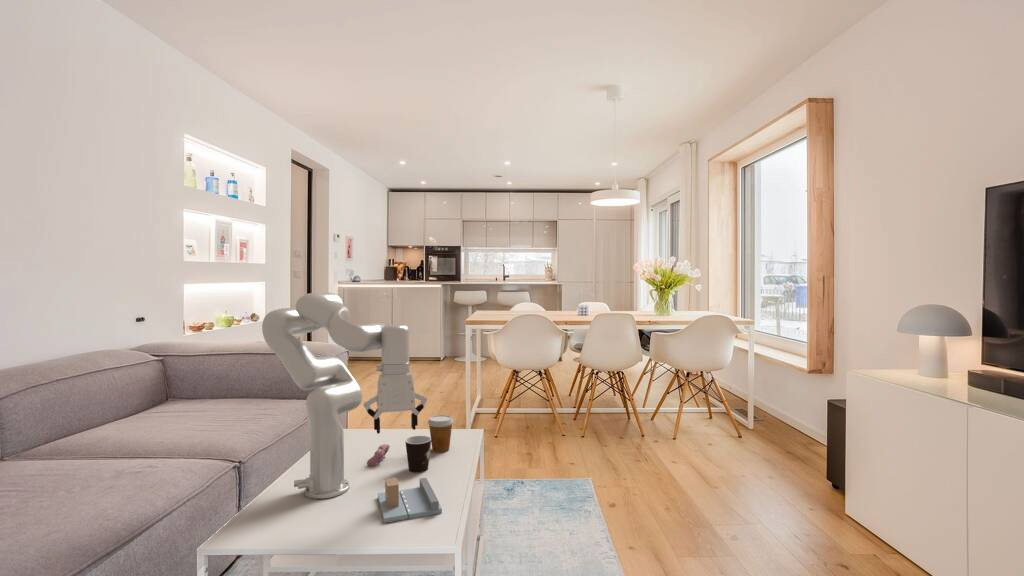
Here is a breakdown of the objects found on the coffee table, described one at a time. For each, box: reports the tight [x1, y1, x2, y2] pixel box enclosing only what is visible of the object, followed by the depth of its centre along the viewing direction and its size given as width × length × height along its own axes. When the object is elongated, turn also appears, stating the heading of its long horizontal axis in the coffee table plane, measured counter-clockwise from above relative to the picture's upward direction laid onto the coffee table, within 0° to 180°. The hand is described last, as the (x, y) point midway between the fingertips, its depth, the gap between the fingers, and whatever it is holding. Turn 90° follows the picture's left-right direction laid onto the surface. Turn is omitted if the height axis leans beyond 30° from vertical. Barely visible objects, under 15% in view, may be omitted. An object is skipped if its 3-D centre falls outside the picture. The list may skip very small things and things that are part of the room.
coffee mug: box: [404, 435, 432, 474], centre depth 163 cm, size 12×9×10 cm
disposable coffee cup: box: [427, 414, 454, 453], centre depth 180 cm, size 10×10×12 cm
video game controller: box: [366, 443, 390, 467], centre depth 169 cm, size 10×5×7 cm, turn 179°
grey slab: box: [377, 477, 409, 524], centre depth 134 cm, size 6×16×7 cm, turn 21°
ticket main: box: [399, 477, 443, 520], centre depth 137 cm, size 9×17×4 cm, turn 21°
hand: (396, 430), depth 134 cm, fingers open, 9 cm apart
